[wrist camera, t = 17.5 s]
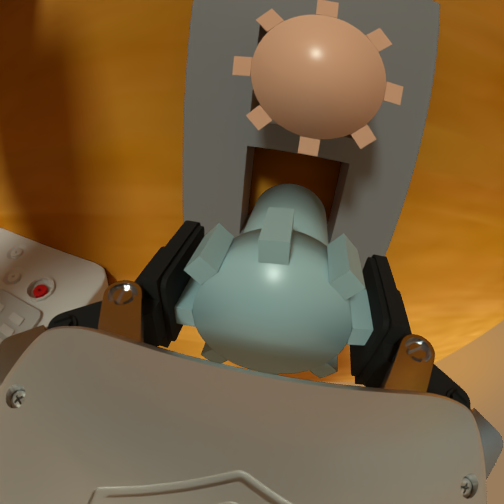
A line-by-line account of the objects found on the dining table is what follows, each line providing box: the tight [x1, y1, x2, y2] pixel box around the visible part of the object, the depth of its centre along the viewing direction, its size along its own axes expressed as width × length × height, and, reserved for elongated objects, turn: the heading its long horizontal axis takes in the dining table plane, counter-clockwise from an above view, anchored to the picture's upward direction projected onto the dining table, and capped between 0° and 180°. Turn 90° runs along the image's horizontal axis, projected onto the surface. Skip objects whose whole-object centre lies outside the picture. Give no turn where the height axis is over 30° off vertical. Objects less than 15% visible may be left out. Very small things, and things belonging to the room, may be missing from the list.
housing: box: [183, 0, 440, 270], centre depth 17 cm, size 22×14×3 cm, turn 174°
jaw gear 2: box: [174, 184, 373, 378], centre depth 12 cm, size 7×7×8 cm
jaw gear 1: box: [232, 0, 403, 156], centre depth 12 cm, size 7×7×8 cm
